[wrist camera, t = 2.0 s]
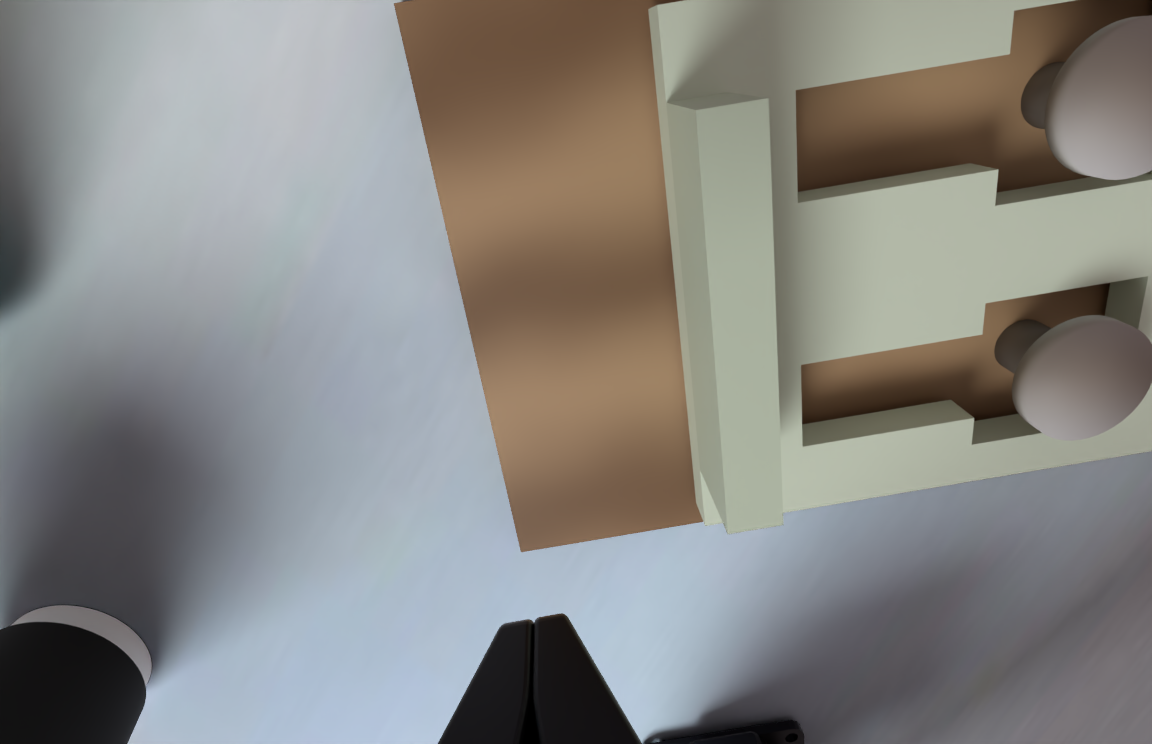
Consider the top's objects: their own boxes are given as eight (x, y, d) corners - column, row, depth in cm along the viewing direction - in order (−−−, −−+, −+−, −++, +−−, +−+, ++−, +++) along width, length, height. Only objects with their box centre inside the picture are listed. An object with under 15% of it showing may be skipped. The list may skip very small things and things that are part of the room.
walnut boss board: (1283, 409, 23) (1408, 465, 20) (521, 536, 23) (520, 614, 20) (1461, -173, 17) (1691, -231, 13) (399, 5, 17) (368, -9, 13)
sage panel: (1170, 423, 22) (1308, 499, 18) (696, 503, 22) (732, 596, 18) (1291, -99, 16) (1532, -151, 12) (648, 9, 16) (686, -9, 12)
